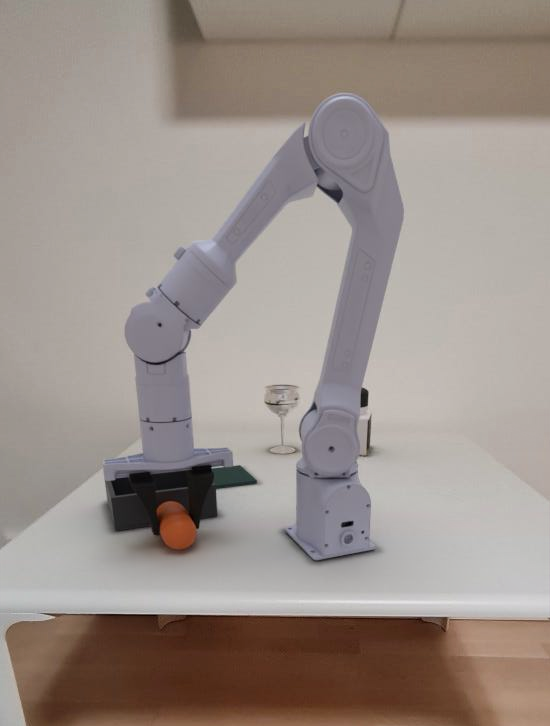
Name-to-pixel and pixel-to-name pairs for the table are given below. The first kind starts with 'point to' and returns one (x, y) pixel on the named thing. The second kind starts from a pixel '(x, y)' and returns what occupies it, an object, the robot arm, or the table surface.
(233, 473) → the pad
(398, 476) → the table surface
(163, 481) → the basin
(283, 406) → the wineglass
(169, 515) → the orange lobed capsule
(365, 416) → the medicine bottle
